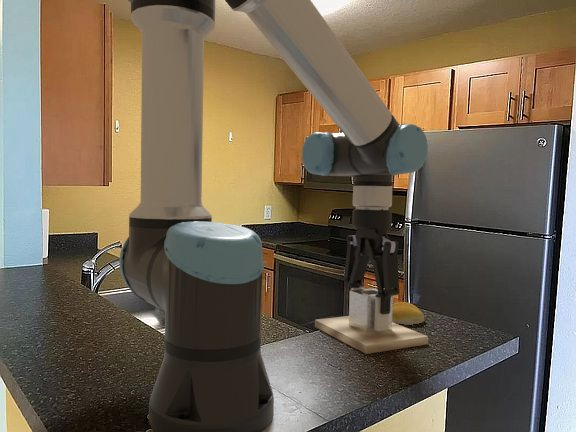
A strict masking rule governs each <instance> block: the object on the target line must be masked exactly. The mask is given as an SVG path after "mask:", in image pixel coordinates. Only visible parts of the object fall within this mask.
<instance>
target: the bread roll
mask: <svg viewBox="0 0 576 432" xmlns="http://www.w3.org/2000/svg"><path fill="white" fill-rule="evenodd" d="M392 322H393V323H397V324H398V325H399V324H404V325H403V326H407V325H412V326H414V325H413V324H419V323H422V322H423V323H424V322H425V315H424V313H423V312H422V311H421V309H420V308H418V307H417V306H416V305H414V304H413V303H410V302H406V301H396V302H393V308H392ZM423 323H422V324H423ZM419 325H420V324H419Z"/></svg>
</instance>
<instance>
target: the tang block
mask: <svg viewBox="0 0 576 432" xmlns="http://www.w3.org/2000/svg"><path fill="white" fill-rule="evenodd" d="M314 328H315V329H317V330H320V331H322V332H323V333H325V334H328V335H329V336H332V337H333V338H334V339H337V340H338V341H340V342H343V343H344V344H346V345H349V346H350V347H352V348H354V349H355V350H358V351H360V352H361V353H363V354H365V355H368V354H375V353H381V352H387V351H394V350H400V349H401V350H402V349H405V348H406V349H407V348H411V347H413V348H414V347H419V346H425V345H428V344H429V336H428V335H425V334H424V333H421V332H418V331H415V330H413V329H411V328H408V327H405V326H404V325H399V324H396V323H393V322H392V330H387V331H380V332H372V333H365V332H362V331H360V330H358V329H356V328H354V327H352V326H350V325H349V315H347V316H337V317H329V318H328V317H327V318H318V319H317V318H316V319H315V320H314Z"/></svg>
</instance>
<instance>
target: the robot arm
mask: <svg viewBox="0 0 576 432" xmlns="http://www.w3.org/2000/svg"><path fill="white" fill-rule="evenodd" d="M224 1H225V2H226V3H227V5H228V6H229V7H230V9H232V11H233V12H240V13H244V14H246V15H247V16H248V18H249V19H250V20H251V21H252V22H253V24H254V25H255V26H256V28H257V29H258V31H260V32H261V34H262V35H263V36H264V38H265V39H266V41H268V43H270V45H271V46H272V47H273V49H274V50H275V51H276V53H277V54H278V55H279V56H280V58H282V60H283V61H284V62H285V63H286V64H287V66H288V68H289V69H290V70H291V71H292V72H293V73H294V74H295V76H296V77H297V78H298V80H300V82H301V83H302V84H303V86H305V88H306V89H307V91H308V92H309V93H310V94H311V95H312V97H313V98H314V99H315V100H316V101H317V102H318V104H319V105H320V106H321V108H323V110H324V111H325V113H326V114H327V115H328V116H329V118H330V120H332V121H333V123H334V124H335V125H336V126H337V127H338V128H339V130H340V131H341V132H340V133H331V132H328V131H325V132H319V131H316V132H313V133H311V134H309V135H308V136H306V139H305V140H304V143H303V145H302V150H301V152H302V153H301V161H302V164H303V166H304V168H305V170H306V171H307V172H308V173H310V174H311V175H318V176H321V177H326V176H327V177H329V176H331V177H332V176H333V177H351V178H352V177H353V184H352V185H353V187H352V188H353V190H352V191H353V192H352V206H353V207H355V208H354V209H353V210H352V222H351V223H352V227H353V229H357V230H356V233H355V234H354V235H347V236H346V246H347V249H346V256H345V257H346V258H345V267H344V273H343V274H344V277H343V281H344V283H348V286H349V288H350V290H360V289H365V287H364V286H365V284H364V282H363V281H364V278H365V275H366V271H367V267H368V265H369V264H368V263H369V261H370V262H371V263H372V268H373V269H372V270H373V273H374V277H375V283H376V289H378V294H377V295H376V296H375V324H374V330H375V331H384V330H388V324H389V314H390V302H391V296H393V297H394V296H398V295H399V294H400V283H399V282H400V279H399V266H398V265H399V264H398V263H399V261H398V252H399V246H400V243H399V242H398V241H397V240H395V241H391V240H390V239H389V236H388V231H389V230H390V229H392V221H393V217H392V216H393V212H392V210H390V209H389V208H391V207H392V206H393V184H394V183H393V180H394V179H393V177H394V176H398V175H403V174H404V175H406V174H411V173H412V174H413V173H415V172H417V171H419V170H420V169H421V168H422V167H423V166H424V164H425V162H426V160H427V157H428V154H429V153H428V152H429V143H428V138H427V135H426V133H425V132H424V130H423V129H422V128H421V127H419V126H418V125H416V124H413V123H411V124H409V123H401V124H400V123H399V122H398V121H397V118H395V115H393V114H392V112H391V111H390V109H389V108H388V107H387V105H386V103H385V102H384V101H383V100H382V98H381V97H380V95H379V94H378V93H377V91H376V90H375V88H374V87H373V85H372V84H371V83H370V81H369V80H368V78H367V77H366V75H365V74H364V73H363V72H362V70H361V69H360V68H359V66H358V64H357V63H356V62H355V60H354V59H353V58H352V56H351V55H350V54H349V52H348V50H347V49H346V47H345V46H344V45H343V43H342V42H341V41H340V40H339V38H338V36H337V35H336V34H335V32H334V31H333V29H332V28H331V27H330V25H329V24H328V23H327V21H326V20H325V18H324V17H323V16H322V14H321V13H320V11H319V10H318V8H317V7H316V5H315V4H314V3H313V2H312V0H224ZM128 2H129V3H130V20H131V22H132V23H133V25H134V26H136V28H137V29H138V30H139V31H140V32H141V106H140V107H141V114H140V115H141V117H140V119H141V122H140V125H141V126H140V127H141V128H140V201H139V204H138V205H137V206H136V207H135V208H134V209H133V210H132V211H131V212H130V213H129V216H128V237H127V238H126V239H125V241H124V243H123V245H122V246H121V247H122V248H121V249H120V253H119V271H120V275H121V277H122V280H123V281H124V283H125V285H126V287H127V288H128V289H129V290H130V291H131V292H132V294H133V295H134V296H136V297H137V298H138V299H140V300H141V301H142V302H144V303H146V304H148V305H150V306H154V307H156V309H159V310H161V311H163V312H164V355H163V360H162V362H161V364H160V365H161V366H160V368H159V371H158V374H157V377H156V380H155V382H154V383H155V384H154V386H153V389H152V391H151V394H150V398H149V402H148V424H149V426H150V428H151V429H152V430H153V432H262V431H263V430H265V429H266V428H267V427H268V426H269V425H271V422H272V420H273V419H274V413H275V412H274V410H275V409H274V408H275V407H274V406H275V401H274V400H275V398H274V393H273V389H272V386H271V382H270V378H269V376H268V373H267V368H266V367H265V363H264V358H263V355H262V348H261V347H262V346H261V344H262V343H261V341H262V339H261V338H262V309H263V307H262V306H263V304H262V303H263V271H264V269H265V262H264V253H263V242H262V240H261V237H260V236H259V235H258V234H257V232H255V231H254V230H252V229H250V228H247V227H245V226H241V225H237V224H232V223H230V224H229V223H223V222H219V221H217V222H216V221H212V218H213V217H212V214H211V213H210V212H209V211H208V210H207V209H206V208H205V207H204V205H203V203H202V196H203V195H202V193H203V192H202V190H203V189H202V188H203V187H202V184H203V183H202V182H203V133H204V132H203V130H204V129H203V127H204V126H203V123H204V121H203V120H204V119H203V117H204V75H205V74H204V69H205V67H204V66H205V63H204V61H205V60H204V59H205V39H206V38H207V37H208V36H209V35H210V34H211V33H212V32H213V31H214V30H215V27H216V26H215V25H216V0H128Z"/></svg>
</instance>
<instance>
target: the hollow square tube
mask: <svg viewBox="0 0 576 432" xmlns="http://www.w3.org/2000/svg"><path fill="white" fill-rule="evenodd" d="M377 294H378V289H377V288H374V287H373V288H364V289H360V290H351V289H350V290H349V300H348V301H349V304H348V305H349V306H348V316H349V325H350V326H352V327H354V328H356V329H358V330H360V331H362V332H365V333H372V332H380V331H375V330H374V324H375V296H376V295H377ZM393 301H394V295H393V296H391V302H390V314H389V324H388V330H392V308H393V304H394V302H393ZM384 331H387V330H384Z"/></svg>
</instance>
